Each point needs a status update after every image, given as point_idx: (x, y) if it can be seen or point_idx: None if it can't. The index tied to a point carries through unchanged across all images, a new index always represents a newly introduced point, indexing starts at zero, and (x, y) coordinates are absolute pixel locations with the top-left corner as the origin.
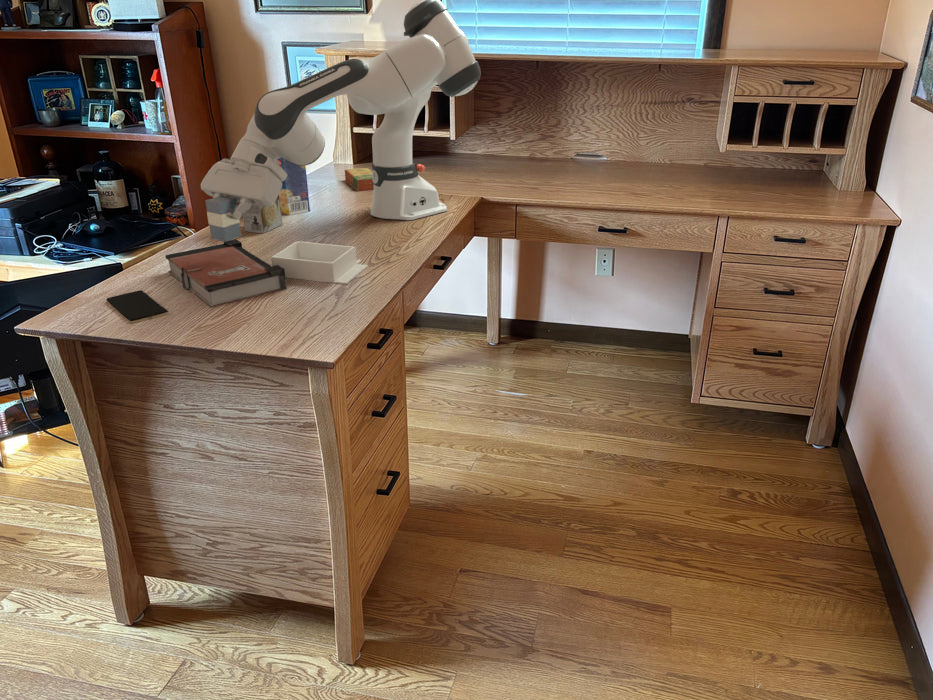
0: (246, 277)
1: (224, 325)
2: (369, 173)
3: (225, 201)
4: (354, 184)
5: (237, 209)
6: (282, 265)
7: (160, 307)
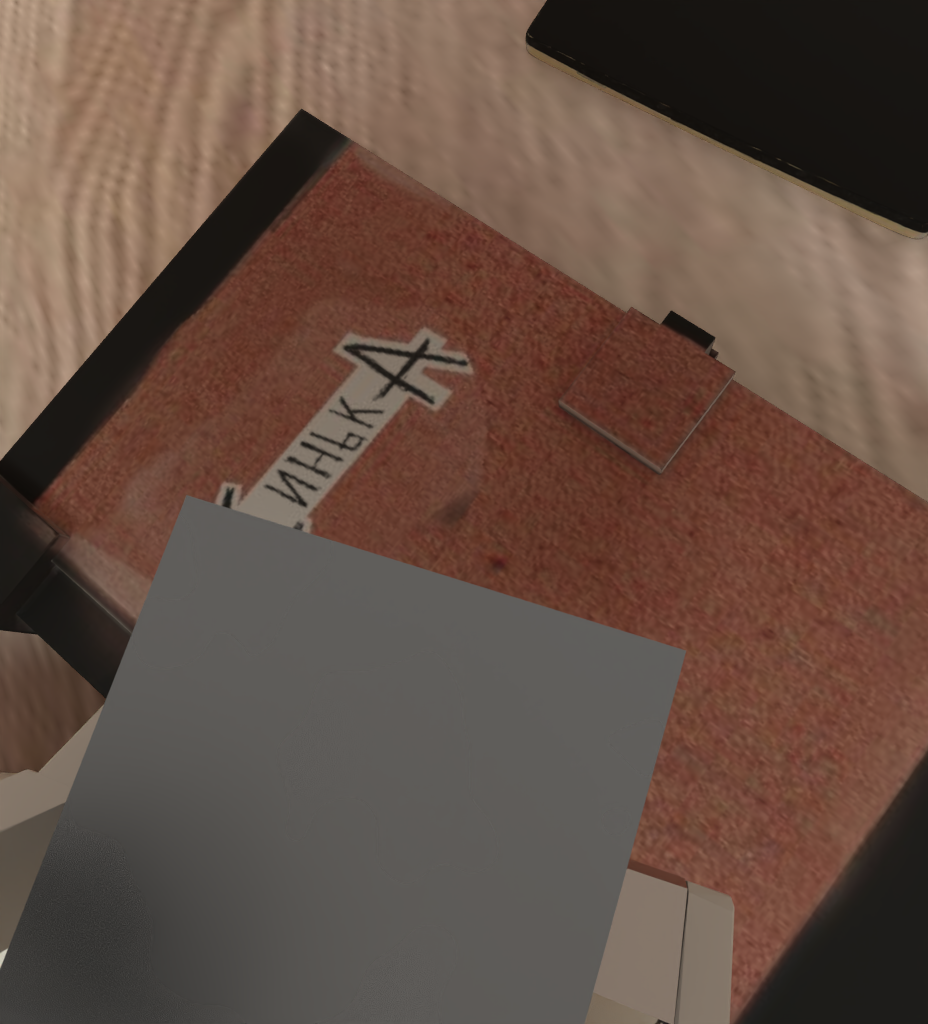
0: (140, 361)
1: (155, 35)
2: None
3: (120, 673)
4: None
5: (34, 773)
6: None
7: (596, 55)
